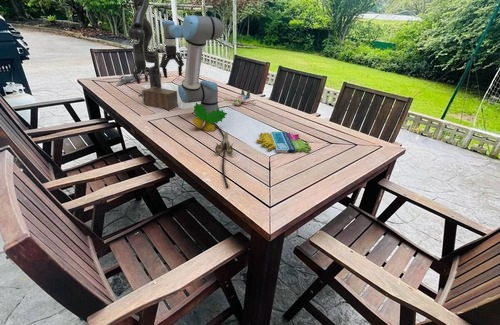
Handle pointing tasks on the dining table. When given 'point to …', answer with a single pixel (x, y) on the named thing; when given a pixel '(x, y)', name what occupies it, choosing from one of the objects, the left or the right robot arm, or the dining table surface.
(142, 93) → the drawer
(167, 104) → the large taupe box
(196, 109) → the ornament
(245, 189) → the dining table surface
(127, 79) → the airplane
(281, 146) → the sign
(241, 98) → the toy
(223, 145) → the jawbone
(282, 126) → the dining table surface
